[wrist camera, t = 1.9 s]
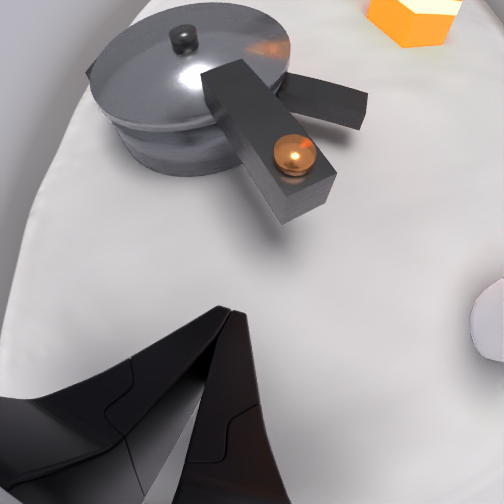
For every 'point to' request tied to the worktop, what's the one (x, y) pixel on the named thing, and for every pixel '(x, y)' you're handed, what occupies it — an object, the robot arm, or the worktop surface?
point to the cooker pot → (215, 142)
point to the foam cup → (489, 322)
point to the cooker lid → (216, 93)
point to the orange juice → (414, 20)
